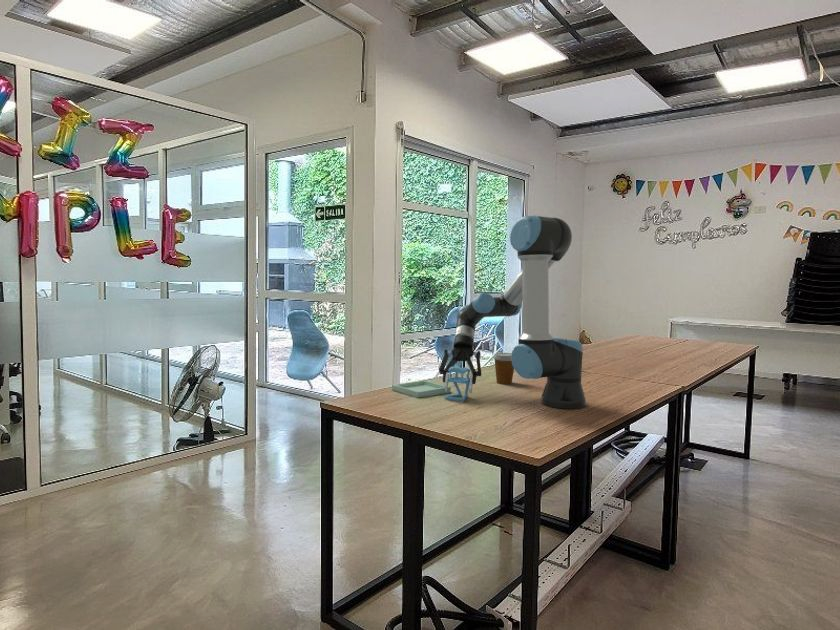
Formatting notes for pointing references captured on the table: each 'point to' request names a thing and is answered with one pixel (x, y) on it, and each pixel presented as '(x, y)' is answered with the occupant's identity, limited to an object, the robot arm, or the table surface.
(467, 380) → the chair
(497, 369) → the disposable coffee cup
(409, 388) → the tray
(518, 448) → the table surface
